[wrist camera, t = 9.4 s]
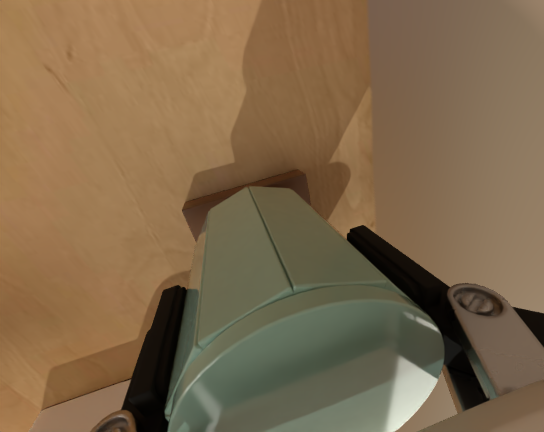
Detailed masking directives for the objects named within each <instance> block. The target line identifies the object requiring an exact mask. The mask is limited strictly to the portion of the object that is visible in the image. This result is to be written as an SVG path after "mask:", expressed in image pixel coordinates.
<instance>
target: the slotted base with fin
mask: <svg viewBox="0 0 544 432" xmlns="http://www.w3.org/2000/svg"><path fill="white" fill-rule="evenodd" d="M130 381H131V379H130V380H128V381H125V382H120V383H118V384H115V385H112V386H109V387H106V388H103V389H101V390H98V391H95V392H92V393H89V394H86V395H84V396H81V397H78V398H75V399H72V400H69V401H67V402H64V403H61V404H58V405H55V406H52V407H50V408H47V409H44V410H42V411H41V412H40V414H39V415H38V417H37V419H36V420H35V422H34V423H33V425H32V427H31V428H30V430H29V432H90V431H91V430H92V428H93V427H95V426H96V425H97V424H98V423H99V422H100V421H101V420H102V419H103V418H105V417H106V416H108V415H109V414H111V413H113V412H116V411H118V410H121V408H122V405H123V402H124V399H125V396H126V393H127V390H128V387H129V384H130Z"/></svg>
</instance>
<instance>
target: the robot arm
mask: <svg viewBox="0 0 544 432" xmlns="http://www.w3.org/2000/svg"><path fill="white" fill-rule="evenodd" d="M347 240H348V241H349V242H350V243H352V244H353V245H354V246H355V247H356V248H357V249H358V250H359V251H360V252H361V253H362V254H363V255H365V256H366V257H367V258H368V259H369V260H370V261H371V262H372V263H373V264H374V265H375V266H376V267H377V268H379V269H380V270H381V271H382V272H383V273H384V274H385V275H386V276H387V277H388V278H389V279H390V280H391V281H393V282H394V283H395V284H396V285H397V286H398V287H399V288H400V289H401V290H402V291H403V292H404V293H406V294H407V295H408V296H409V297H410V298H411V299H412V300H413V301H414V302H415V303H416V304H417V305H418V306H420V307H421V308H422V309H423V310H424V311H425V312H426V313H427V314H428V315H429V316H430V317H431V319H432V320H433V321H434V322H435V323H436V324H437V326H438V328H439V330H440V332H441V334H442V336H443V340H444V344H445V358H444V364H443V368H442V371H443V374H444V377H445V380H446V383H447V385H448V388H449V391H450V394H451V396H452V399H453V402H454V405H455V407H456V410H457V413H458V414H457V415H455V416H452V417H450V418H448V419H445V420H443V421H441V422H439V423H436V424H434V425H432V426H429V427H427V428H425V429H423V430H420V431H418V432H544V313H539V312H534V311H529V310H525V309H519V308H515V307H512V306H511V305H510V304H509V303H508V301H507V300H505V299H504V298H503V297H502V296H501V295H500V294H498V293H497V292H495V291H493V290H491V289H489V288H486V287H484V286H480V285H476V284H469V283H462V284H456V285H453V286H452V287H449V286H447V285H446V284H445V283H443V282H442V281H441V280H439V279H438V278H436V277H435V276H434V275H432V274H431V273H429V272H428V271H427V270H425V269H424V268H423V267H421V266H420V265H418V264H417V263H415V262H414V261H413V260H411V259H410V258H409V257H407V256H406V255H404V254H403V253H402V252H400V251H399V250H398V249H396V248H395V247H393V246H392V245H390V244H389V243H388V242H386V241H385V240H384V239H382V238H381V237H379V236H378V235H377V234H375V233H374V232H372V231H371V230H370V229H368V228H367V227H366V226H364V225H361V226H358V227H355V228H352V229H350V233H348V234H347ZM186 293H187V290H186V288H185V287H182V288H181V287H180V286H179V285H177V286H174V287H171V288H168V289H165V290H163V292H162V296H161V299H160V302H159V305H158V308H157V311H156V314H155V317H154V320H153V323H152V326H151V329H150V330H149V331H148V332H147V334H146V337H145V340H144V343H143V346H142V349H141V352H140V354H139V357H138V360H137V363H136V366H135V369H134V372H133V375H132V378H131V381H130V384H129V387H128V390H127V393H126V396H125V399H124V402H123V405H122V408H121V410H118V411H116V412H113V413H111V414H109V415H108V416H106V417H105V418H103V419H102V420H101V421H100V422H99V423H98V424H97V425H96V426H95V427H93V428H92V430H91V431H90V432H167V429H168V423H169V422H168V421H167V420H166V418H165V412H164V411H165V406H166V400H167V395H168V389H169V384H170V379H171V373H172V368H173V363H174V357H175V352H176V346H177V341H178V336H179V330H180V325H181V320H182V314H183V309H184V303H185V298H186Z"/></svg>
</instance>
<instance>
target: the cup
mask: <svg viewBox="0 0 544 432" xmlns="http://www.w3.org/2000/svg"><path fill="white" fill-rule="evenodd" d="M444 358H445V344H444V340H443V336H442V334H441V332H440V330H439V328H438V326H437V324H436V323H435V322H434V321H433V320H432V319H431V317H430V316H429V315H428V314H427V313H426V312H425V311H424V310H423V309H422V308H421V307H420V306H418V305H417V304H416V303H415V302H414V301H413V300H412V299H411V298H410V297H409V296H408V295H407V294H406V293H404V292H403V291H402V290H401V289H400V288H399V287H398V286H397V285H396V284H395V283H394V282H393V281H391V280H390V279H389V278H388V277H387V276H386V275H385V274H384V273H383V272H382V271H381V270H380V269H379V268H377V267H376V266H375V265H374V264H373V263H372V262H371V261H370V260H369V259H368V258H367V257H366V256H365V255H363V254H362V253H361V252H360V251H359V250H358V249H357V248H356V247H355V246H354V245H353V244H352V243H350V242H349V241H348V240H347V239H346V238H345V237H344V236H343V235H342V234H341V233H340V232H339V231H338V230H336V229H335V228H334V227H333V226H332V225H331V224H330V223H329V222H328V221H327V220H326V219H325V218H324V217H322V216H321V215H320V214H319V213H318V212H317V211H316V210H315V209H314V208H313V207H311V206H310V205H309V204H308V203H307V202H306V201H305V200H304V199H303V198H301V197H300V196H299V195H298V194H297V193H296V192H295V191H294V190H291V189H290V188H274V187H256V186H249V188H248V187H245V188H244V189H242V190H241V191H239V192H237V193H236V194H234V195H232V196H231V197H229V198H228V199H226V200H224V201H223V202H221V203H220V204H218V205H216V206H215V207H213V208H211V209H210V211H209V212H208V214H207V216H206V219H205V222H204V224H203V227H202V230H201V232H200V235H199V237H198V240H197V243H196V245H195V250H194V255H193V260H192V266H191V271H190V276H189V282H188V287H187V293H186V298H185V303H184V309H183V314H182V320H181V325H180V330H179V336H178V341H177V346H176V352H175V357H174V363H173V368H172V373H171V379H170V384H169V389H168V395H167V400H166V406H165V411H164V412H165V418H166V420H167V421H168V422H169V423H168V429H167V432H395V431H396V430H397V429H399V428H400V427H401V426H402V425H403V424H404V423H405V422H406V421H407V420H409V419H410V418H411V417H412V415H413V414H414V413H415V412H416V411H417V410H418V409H419V408H420V407H421V405H422V404H423V403H424V401H425V400H426V399H427V398H428V396H429V395H430V393H431V391H432V390H433V388H434V387H435V385H436V383H437V381H438V379H439V377H440V374H441V371H442V368H443V364H444Z"/></svg>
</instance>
